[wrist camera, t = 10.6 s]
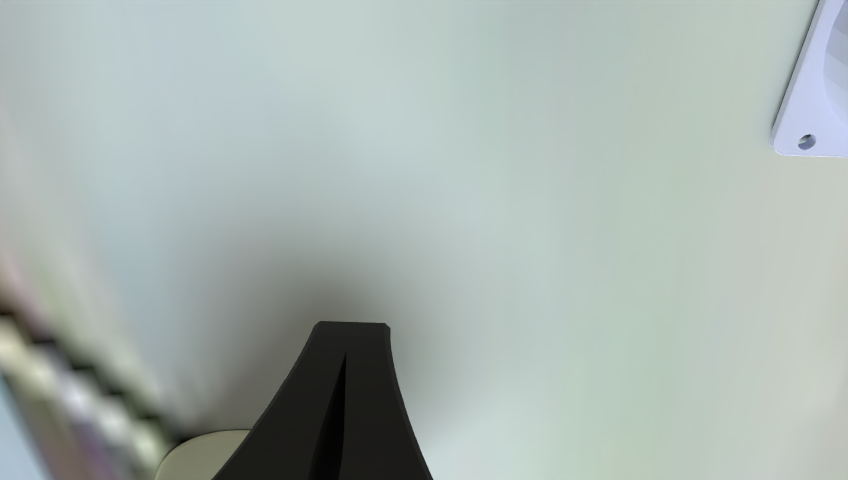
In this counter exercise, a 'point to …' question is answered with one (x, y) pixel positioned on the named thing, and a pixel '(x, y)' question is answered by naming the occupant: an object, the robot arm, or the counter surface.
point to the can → (200, 456)
